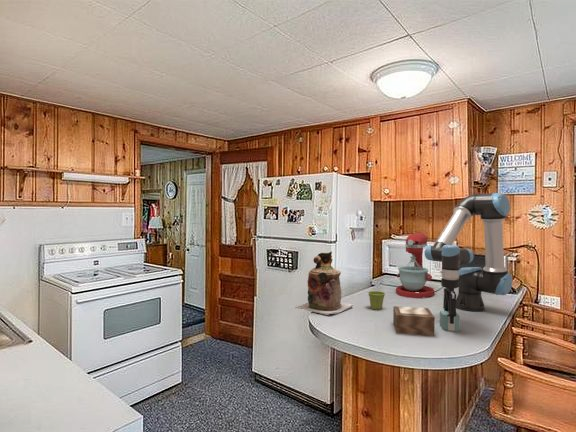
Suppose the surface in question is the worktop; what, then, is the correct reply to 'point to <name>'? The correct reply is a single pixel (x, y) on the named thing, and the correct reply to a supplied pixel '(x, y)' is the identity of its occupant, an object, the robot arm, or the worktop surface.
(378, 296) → the plant pot
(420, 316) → the walnut block
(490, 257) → the robot arm
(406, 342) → the worktop surface
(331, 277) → the cookie jar
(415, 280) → the stand mixer
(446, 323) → the teal cube
